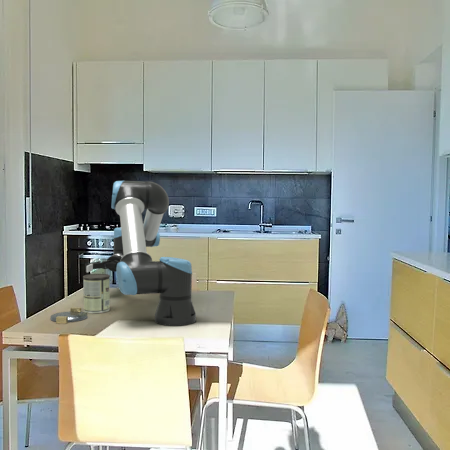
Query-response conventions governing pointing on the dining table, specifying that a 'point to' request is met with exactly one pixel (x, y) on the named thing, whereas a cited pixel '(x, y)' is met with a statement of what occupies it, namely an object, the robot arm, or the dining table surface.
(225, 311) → the dining table surface
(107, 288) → the coffee can
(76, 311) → the lock base
